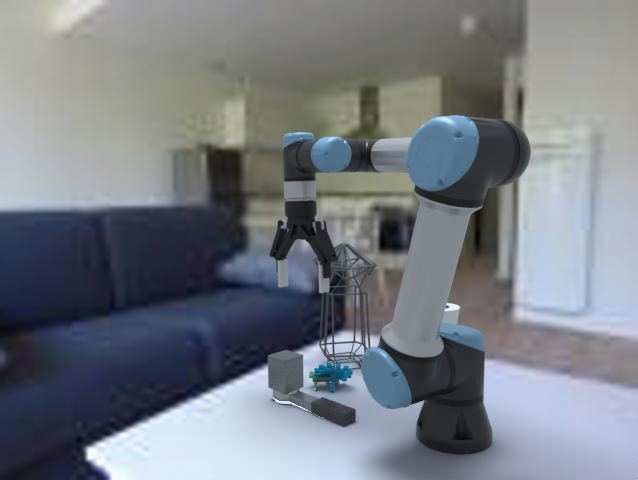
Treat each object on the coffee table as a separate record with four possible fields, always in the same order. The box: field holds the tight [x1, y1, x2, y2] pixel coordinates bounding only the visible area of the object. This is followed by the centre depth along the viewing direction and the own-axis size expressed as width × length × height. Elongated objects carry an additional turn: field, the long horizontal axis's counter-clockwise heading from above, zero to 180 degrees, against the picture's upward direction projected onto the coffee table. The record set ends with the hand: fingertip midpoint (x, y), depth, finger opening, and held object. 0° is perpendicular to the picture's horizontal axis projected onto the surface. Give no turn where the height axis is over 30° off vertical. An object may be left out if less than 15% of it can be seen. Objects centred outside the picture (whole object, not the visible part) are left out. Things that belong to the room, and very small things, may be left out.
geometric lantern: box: [312, 242, 378, 370], centre depth 160 cm, size 16×16×35 cm
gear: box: [308, 362, 353, 393], centre depth 144 cm, size 11×6×10 cm
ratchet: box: [272, 389, 357, 428], centre depth 132 cm, size 24×6×7 cm, turn 45°
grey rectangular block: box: [267, 349, 305, 394], centre depth 137 cm, size 6×6×8 cm
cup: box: [442, 302, 461, 325], centre depth 155 cm, size 11×11×18 cm
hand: (303, 289), depth 136 cm, fingers open, 13 cm apart
